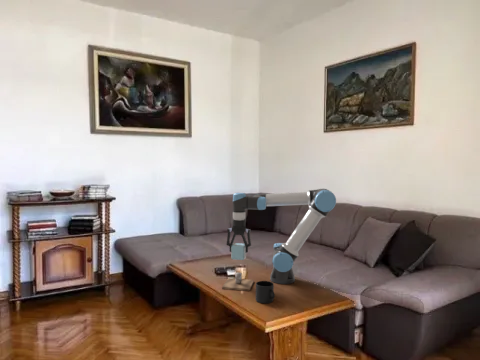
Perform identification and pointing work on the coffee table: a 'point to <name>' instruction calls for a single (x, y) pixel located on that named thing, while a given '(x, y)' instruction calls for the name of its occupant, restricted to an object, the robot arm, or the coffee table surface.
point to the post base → (236, 286)
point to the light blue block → (238, 251)
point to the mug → (264, 292)
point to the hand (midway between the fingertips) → (238, 257)
